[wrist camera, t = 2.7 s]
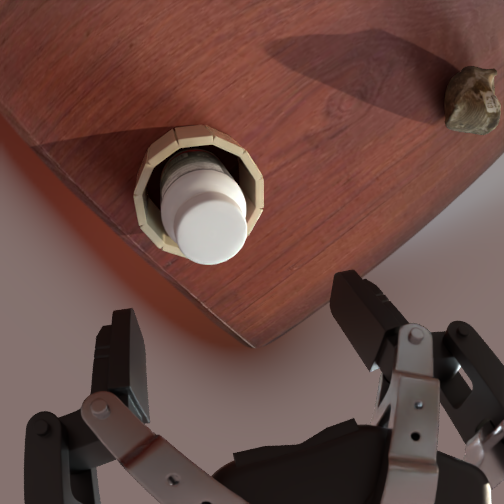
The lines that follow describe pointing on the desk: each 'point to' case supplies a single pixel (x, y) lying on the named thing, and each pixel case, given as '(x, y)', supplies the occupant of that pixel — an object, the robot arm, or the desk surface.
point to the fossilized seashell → (472, 101)
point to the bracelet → (193, 137)
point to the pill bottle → (202, 207)
